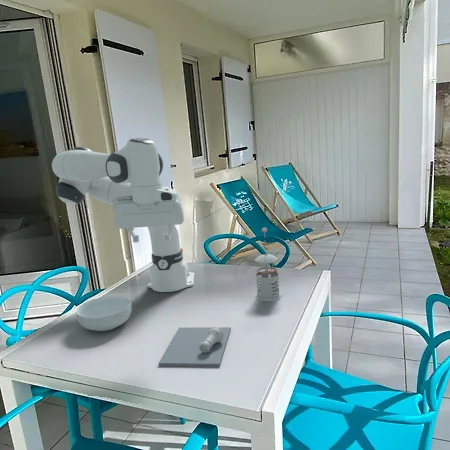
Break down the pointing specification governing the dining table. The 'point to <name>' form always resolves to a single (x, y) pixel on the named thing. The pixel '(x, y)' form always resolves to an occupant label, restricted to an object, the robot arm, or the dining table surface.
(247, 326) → the dining table surface
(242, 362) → the dining table surface
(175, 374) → the dining table surface
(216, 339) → the rook chess piece
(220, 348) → the mat
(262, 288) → the french press
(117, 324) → the cereal bowl
